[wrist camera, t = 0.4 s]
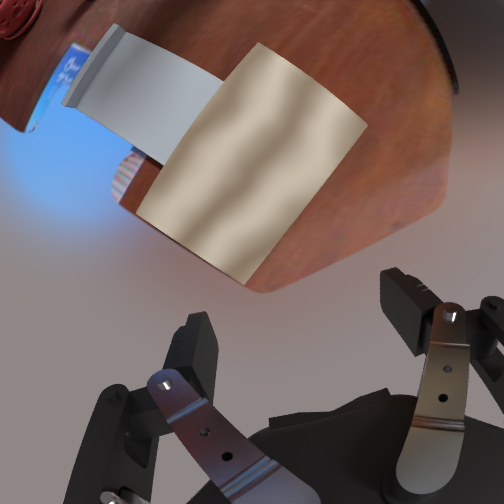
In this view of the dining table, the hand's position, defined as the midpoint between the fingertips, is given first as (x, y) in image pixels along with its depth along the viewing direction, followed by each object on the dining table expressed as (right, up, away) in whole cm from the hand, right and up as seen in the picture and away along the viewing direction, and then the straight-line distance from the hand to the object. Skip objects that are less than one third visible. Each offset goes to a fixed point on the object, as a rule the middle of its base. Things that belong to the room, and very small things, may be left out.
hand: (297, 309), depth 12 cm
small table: (-2, +15, +24) cm, 29 cm away
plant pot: (-48, +50, +11) cm, 70 cm away
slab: (-18, +25, +21) cm, 37 cm away
